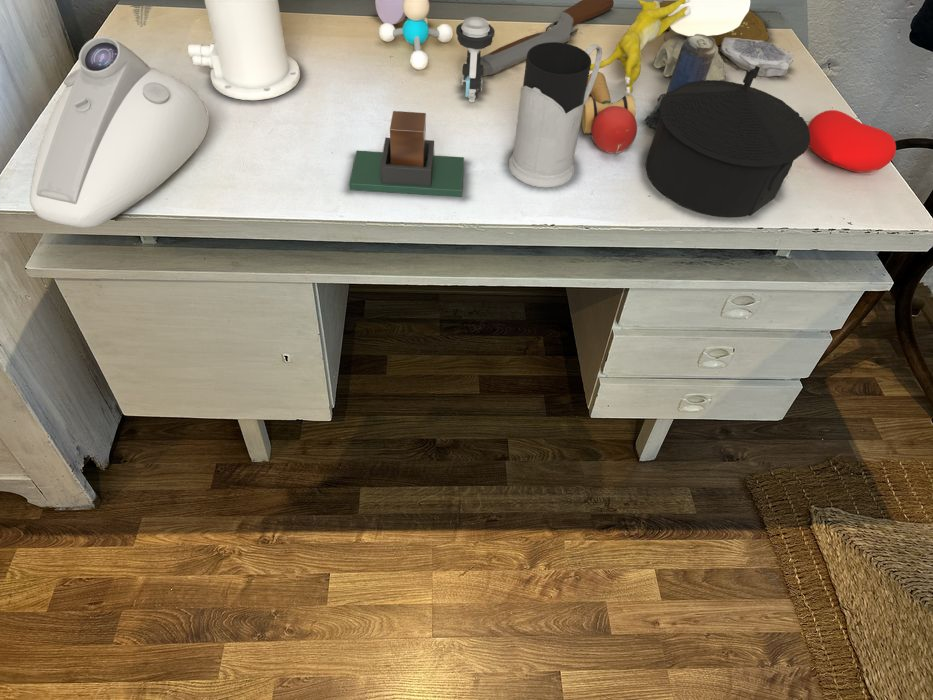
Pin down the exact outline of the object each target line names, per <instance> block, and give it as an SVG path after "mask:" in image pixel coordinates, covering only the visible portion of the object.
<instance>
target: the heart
mask: <svg viewBox="0 0 933 700" xmlns="http://www.w3.org/2000/svg"><path fill="white" fill-rule="evenodd" d="M807 126H808V128H809V133H810V143H809V146H808V147H809V148H810V149H811V151H812V152H814V154H816V155H817V156H819V158H821V159H823V160H825V161H826V162H828V163H830V164H832V165H833V166H836V167H838V168H841V169H844V170H847V171H851V172H857V173H865V172H866V173H867V172H868V173H869V172H873V171H878V170H880V169H883V168H885V167H886V166H888V164H890V163H891V162H892V161H893V159H894V157H895V155H896V151H897V145H896V141H895V139H894V137H893V136H892V135H891V134H890V133H888V132H887V131H885V130H883V129H880V128H877V127H874V126H871V125H868V124H865V123H862V122H860V121H859V120H857V119H855V118H853V116H850V115H849V114H847V113H845V112H843V111H841V110H836V109H829V110H824V111H822V112H820V113H818V114H817V115H815V116H814V117H813V118H812V119H811V120H810V121H809V123H808V124H807Z"/></svg>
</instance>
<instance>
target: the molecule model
mask: <svg viewBox="0 0 933 700" xmlns="http://www.w3.org/2000/svg"><path fill="white" fill-rule="evenodd" d="M403 11H404V13H405V15H406V17H407V19H406V20H405V22H404V23H403V25H402V27H399V28H396V27H395V26H394V24H393V25H392V24H390V23H384V22H383V23H382V24H381V25H380V26H379V28H378V36H379V38H380V39H381V40H382V41H384V42H386V43H389V42H392V41H394V39H396V37H400V36H403V38H404V39H405V41H406V42H407V43H408V44H409V45H413V46H414V47H413V48H414V49H413V50H414V51H413V52H412V53H411V54H410V57H409V62H410V66H412V68H413V69H414V70H417V71H421V70H424V69H425V68H426V67H427V66H428V64H429V57H428V55H427V53H426V52H425V51H423V50H421V49H422V48H421V45H423V44H424V43H425V42H426V41H427V39H428V37H429V36H430V37H433V38H436V39H437V40H438V41H439V42H441V43H445V44H446V43H448V42H450V41H451V40H452V39H453V37H454V30H453V28H452V26H451V25H449V24H448V23H441V24H439V25H438V26H437V27H436V29H434V28H430V27H429V25H428V24H427V23H426V22H425V21H424V20H423V19H424V18H425V17H427V16H428V14H429V11H430V2H429V0H403Z"/></svg>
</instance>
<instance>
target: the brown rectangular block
mask: <svg viewBox="0 0 933 700" xmlns="http://www.w3.org/2000/svg"><path fill="white" fill-rule="evenodd" d="M426 133H427V113H426V112H419V111H418V112H417V111H400V110H393V111H392V114H391V120H390V127H389V138H390V150H391V165H405V166H421V167H425V158H426V140H427V134H426Z"/></svg>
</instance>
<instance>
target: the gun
mask: <svg viewBox="0 0 933 700" xmlns="http://www.w3.org/2000/svg"><path fill="white" fill-rule="evenodd" d="M614 4H615V2H614V0H580V1H578V2H575V3H574V4H573V5H571V6H570V7H568V8H566V9H564V10H563V11H561V14H560V17H559V19H558V20H557V21H554V22H552V23H550V24H548V25H547V26H546V27H545V30H544V31H540V32H536V33H533V34H530V35H527V36H524V37H521V38H520V39H517V40H515V41H513V42H510V43H507V44H505V45H503V46H501V47H498V48H497V49H494V50H493V51H490V52H489V53H486V54H484V55H482V56H480V58H481V61H480V65H483V67H484V70H483V76H482V77H486V76H493V75H495V74H497V73H500V72H502V71H504V70H506V69H508V68H512V66H516V65H518V64H520V63H522V62H525V61H526V59H527V53H528V51H529V50H530V49H531V48H532V47H533V46H536V45H538V44H542V43H548V42H558V43H567V42H570V40H571V36H573V35H575V34H577V33H578V29H579V28H573V26H576V25H577V24H579V23H582V22H585V21H589V20H593V19H595V18H598V17H600V16H602V15H604V14H606V13H607V12H609V11H610V10H611V9H613V7H614Z"/></svg>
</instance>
